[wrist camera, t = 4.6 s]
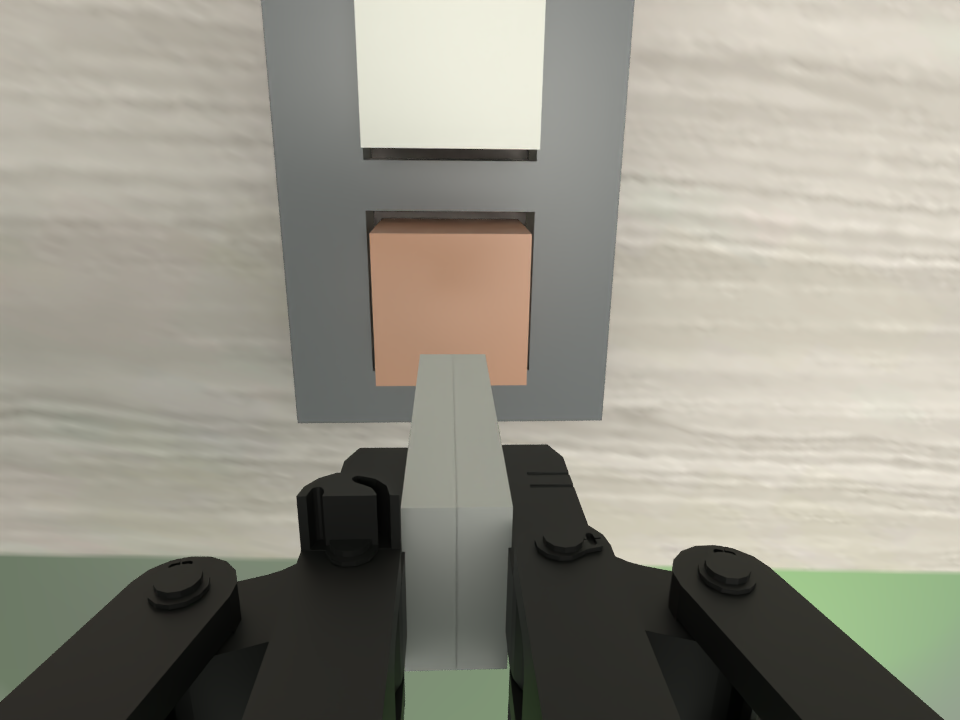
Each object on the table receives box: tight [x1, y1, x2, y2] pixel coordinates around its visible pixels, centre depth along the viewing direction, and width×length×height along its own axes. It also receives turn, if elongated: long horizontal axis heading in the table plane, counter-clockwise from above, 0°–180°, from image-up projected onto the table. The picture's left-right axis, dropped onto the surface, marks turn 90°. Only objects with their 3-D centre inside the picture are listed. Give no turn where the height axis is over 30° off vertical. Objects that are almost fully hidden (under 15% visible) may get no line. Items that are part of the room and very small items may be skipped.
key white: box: [354, 0, 546, 150], centre depth 23 cm, size 6×6×5 cm
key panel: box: [261, 0, 634, 423], centre depth 26 cm, size 14×30×3 cm, turn 179°
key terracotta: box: [369, 218, 532, 386], centre depth 27 cm, size 6×6×5 cm
